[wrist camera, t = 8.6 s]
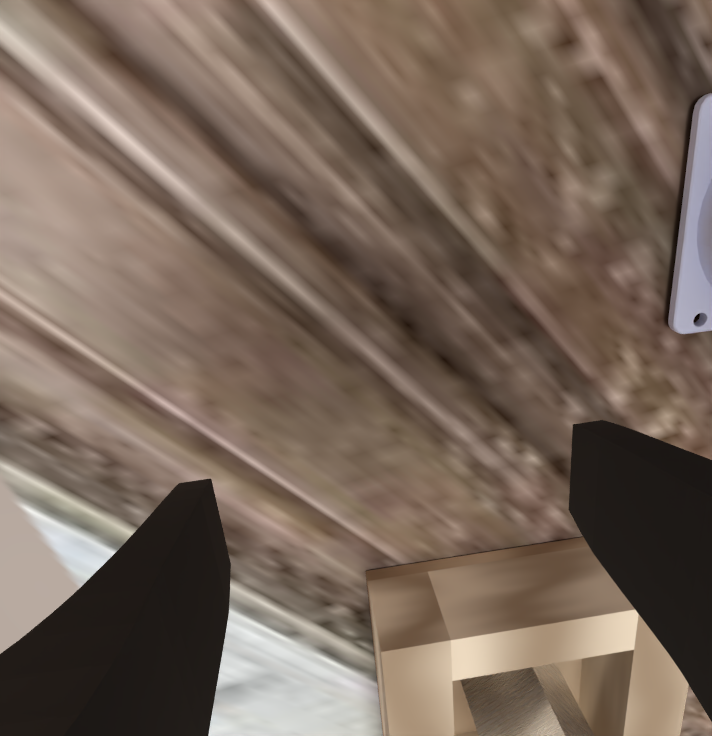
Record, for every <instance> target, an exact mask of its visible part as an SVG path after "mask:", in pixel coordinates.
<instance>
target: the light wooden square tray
mask: <svg viewBox="0 0 712 736" xmlns="http://www.w3.org/2000/svg"><path fill="white" fill-rule="evenodd" d="M366 580H367V589H368V598H369V608H370V617H371V627H372V636H373V645H374V655H375V664H376V673H377V683H378V692H379V702H380V711H381V720H382V730H383V736H479V735H478V732H477V729H476V726H475V723H474V720H473V717H472V714H471V711H470V708H469V705H468V702H467V699H466V696H465V693H464V690H463V687H462V684H461V681H460V680H461V679H467V678H473V677H478V676H484V675H490V674H496V673H502V672H507V671H513V670H519V669H525V668H530V667H536V666H542V665H548V664H554V665H555V666H556V667H557V668H558V669H559V670H560V672H561V673H562V675H563V677H564V679H565V681H566V683H567V684H568V686H569V688H570V690H571V692H572V694H573V696H574V698H575V700H576V702H577V704H578V705H579V707H580V709H581V711H582V713H583V715H584V717H585V719H586V721H587V723H588V724H589V726H590V728H591V730H592V732H593V734H594V736H680V731H681V725H682V720H683V714H684V708H685V703H686V697H687V692H688V686H689V684H688V682H687V681H686V679H685V677H684V676H683V674H682V673H681V671H680V670H679V668H678V667H677V665H676V664H675V662H674V661H673V660H672V658H671V657H670V655H669V654H668V652H667V651H666V650H665V648H664V647H663V646H662V644H661V643H660V642H659V640H658V639H657V638H656V636H655V635H654V634H653V632H652V631H651V630H650V628H649V627H648V626H647V624H646V623H645V622H644V620H643V619H642V618H641V617H640V615H639V614H638V613H637V611H636V610H635V609H634V607H633V606H632V605H631V603H630V602H629V601H628V599H627V598H626V597H625V595H624V594H623V593H622V592H621V590H620V589H619V588H618V586H617V585H616V584H615V582H614V581H613V580H612V578H611V577H610V575H609V574H608V573H607V571H606V570H605V569H604V567H603V566H602V565H601V563H600V562H599V561H598V559H597V558H596V556H595V555H594V554H593V552H592V551H591V549H590V547H589V546H588V544H587V542H586V540H585V539H584V537H580V538H574V539H567V540H561V541H555V542H548V543H542V544H535V545H529V546H523V547H516V548H510V549H503V550H497V551H491V552H484V553H478V554H471V555H465V556H459V557H452V558H446V559H439V560H433V561H427V562H420V563H414V564H407V565H401V566H395V567H388V568H382V569H375V570H369V571H366Z"/></svg>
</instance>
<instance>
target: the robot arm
mask: <svg viewBox="0 0 712 736" xmlns="http://www.w3.org/2000/svg"><path fill="white" fill-rule="evenodd" d="M699 313H700V317H699V319H698V320H697V321H696V322H695V323H694V322H693V320H694V318H695V316H696V315H697V314H699ZM668 324H669V327H670V328H671V329H672V330H673V331H675V332H677V333H679V334H689V333H697V332H705V331H712V93H709V94H706V95H704V96H702V97H701V98H700V99H699V100H698V101H697V103H696V105H695V107H694V111H693V117H692V126H691V134H690V143H689V151H688V159H687V168H686V176H685V184H684V193H683V201H682V209H681V218H680V226H679V234H678V243H677V251H676V259H675V268H674V276H673V285H672V293H671V301H670V310H669V318H668ZM569 511H570V513H571V515H572V517H573V518H574V520H575V522H576V524H577V526H578V528H579V530H580V532H581V533H582V535H583V537H584V539H585V540H586V542H587V544H588V546H589V547H590V549H591V551H592V552H593V554H594V555H595V556H596V558H597V559H598V561H599V562H600V563H601V565H602V566H603V567H604V569H605V570H606V571H607V573H608V574H609V575H610V577H611V578H612V580H613V581H614V582H615V584H616V585H617V586H618V588H619V589H620V590H621V592H622V593H623V594H624V595H625V597H626V598H627V599H628V601H629V602H630V603H631V605H632V606H633V607H634V609H635V610H636V611H637V613H638V614H639V615H640V617H641V618H642V619H643V620H644V622H645V623H646V624H647V626H648V627H649V628H650V630H651V631H652V632H653V634H654V635H655V636H656V638H657V639H658V640H659V642H660V643H661V644H662V646H663V647H664V648H665V650H666V651H667V652H668V654H669V655H670V657H671V658H672V660H673V661H674V662H675V664H676V665H677V667H678V668H679V670H680V671H681V673H682V674H683V676H684V677H685V679H686V681H687V682H688V684H689V686H690V687H691V689H692V690H693V692H694V694H695V695H696V697H697V699H698V700H699V702H700V703H701V705H702V707H703V708H704V710H705V711H706V713H707V715H708V716H709V718H710V720H711V721H712V460H710V459H707V458H705V457H702V456H699V455H697V454H694V453H692V452H689V451H686V450H684V449H681V448H679V447H676V446H673V445H671V444H668V443H666V442H663V441H661V440H658V439H655V438H653V437H650V436H648V435H645V434H642V433H640V432H637V431H634V430H632V429H629V428H626V427H623V426H620V425H617V424H614V423H611V422H607V421H603V420H600V421H593V422H587V423H580V424H573V434H572V455H571V476H570V496H569ZM230 569H231V563H230V559H229V555H228V550H227V546H226V542H225V537H224V533H223V528H222V524H221V520H220V515H219V511H218V507H217V502H216V498H215V494H214V489H213V485H212V480H211V479H205V480H198V481H192V482H185V483H179V484H178V485H177V486H176V487H175V488H174V489H173V490H172V491H171V492H170V493H169V495H168V496H167V497H166V498H165V499H164V500H163V501H162V502H161V504H160V505H159V506H158V507H157V508H156V509H155V510H154V512H153V513H152V514H151V515H150V516H149V517H148V518H147V520H146V521H145V522H144V523H143V524H142V525H141V526H140V527H139V528H138V529H137V530H136V532H135V533H134V534H133V535H132V536H131V537H130V538H129V539H128V540H127V541H126V543H125V544H124V545H123V546H122V547H121V548H120V549H119V550H118V551H117V552H116V553H115V554H114V555H113V556H112V557H111V558H110V559H109V560H108V561H107V562H106V563H105V564H104V565H103V566H102V567H101V568H100V569H99V570H98V571H97V572H96V573H95V574H94V575H93V576H92V577H91V578H90V579H89V580H88V581H87V582H86V583H85V584H84V585H83V586H82V587H81V588H80V589H79V590H77V591H76V592H75V593H74V594H73V595H72V596H71V597H70V598H69V599H68V600H67V601H65V602H64V603H63V604H62V605H61V606H60V607H59V608H57V609H56V610H55V611H54V612H53V613H52V614H51V615H49V616H48V617H47V618H46V619H44V620H43V621H42V622H41V623H40V624H38V625H37V626H36V627H35V628H34V629H32V630H31V631H30V632H29V633H27V634H26V635H25V636H24V637H22V638H21V639H20V640H19V641H17V642H16V643H15V644H13V645H12V646H11V647H9V648H8V649H6V650H5V651H4V652H3V653H1V654H0V736H208V733H209V727H210V721H211V715H212V709H213V703H214V697H215V692H216V686H217V680H218V674H219V668H220V662H221V657H222V651H223V645H224V639H225V633H226V627H227V620H228V614H229V596H230Z"/></svg>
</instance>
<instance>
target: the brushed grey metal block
mask: <svg viewBox="0 0 712 736" xmlns="http://www.w3.org/2000/svg"><path fill="white" fill-rule="evenodd" d="M460 681H461V684H462V687H463V690H464V693H465V696H466V699H467V702H468V705H469V708H470V711H471V714H472V717H473V720H474V723H475V726H476V729H477V732H478V735H479V736H594V734H593V732H592V730H591V728H590V726H589V724H588V723H587V721H586V719H585V717H584V715H583V713H582V711H581V709H580V707H579V705H578V704H577V702H576V700H575V698H574V696H573V694H572V692H571V690H570V688H569V686H568V684H567V683H566V681H565V679H564V677H563V675H562V673H561V672H560V670H559V669H558V668H557V667H556V666H555V665H554V664H548V665H542V666H536V667H530V668H525V669H519V670H513V671H507V672H502V673H496V674H490V675H484V676H478V677H473V678H467V679H461V680H460Z"/></svg>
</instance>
